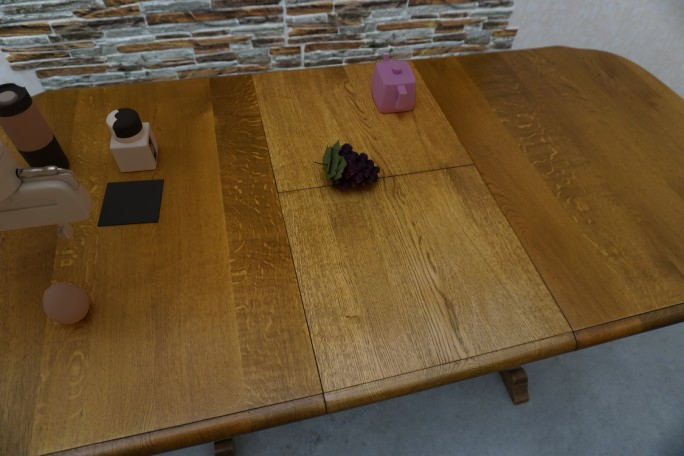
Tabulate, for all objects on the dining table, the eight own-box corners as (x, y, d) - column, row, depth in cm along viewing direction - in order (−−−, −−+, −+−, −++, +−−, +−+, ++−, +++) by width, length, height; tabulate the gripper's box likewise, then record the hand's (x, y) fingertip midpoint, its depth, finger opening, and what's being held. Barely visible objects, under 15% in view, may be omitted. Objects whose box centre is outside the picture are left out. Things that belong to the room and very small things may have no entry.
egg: (54, 334, 81) (28, 310, 73) (60, 301, 85) (36, 275, 77) (94, 328, 82) (72, 304, 74) (98, 295, 86) (78, 270, 78)
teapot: (365, 80, 129) (368, 46, 121) (401, 77, 130) (406, 44, 122) (380, 122, 118) (384, 88, 110) (419, 118, 120) (426, 85, 112)
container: (158, 146, 110) (142, 102, 99) (156, 170, 105) (138, 125, 95) (124, 149, 109) (104, 104, 98) (121, 173, 104) (99, 129, 94)
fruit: (372, 202, 106) (309, 194, 102) (369, 164, 111) (309, 155, 107) (389, 178, 97) (321, 168, 93) (385, 138, 102) (320, 127, 98)
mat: (97, 226, 95) (97, 225, 95) (108, 183, 102) (107, 182, 102) (157, 222, 96) (157, 221, 96) (163, 180, 103) (163, 179, 103)
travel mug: (35, 184, 101) (-18, 111, 85) (33, 161, 105) (-18, 87, 89) (72, 174, 103) (27, 101, 87) (69, 152, 107) (25, 78, 91)
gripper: (72, 147, 59) (110, 214, 71) (-106, 165, 56) (-37, 232, 67) (64, 183, 56) (106, 247, 67) (-127, 204, 53) (-50, 268, 64)
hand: (33, 240), depth 67 cm, fingers open, 8 cm apart
